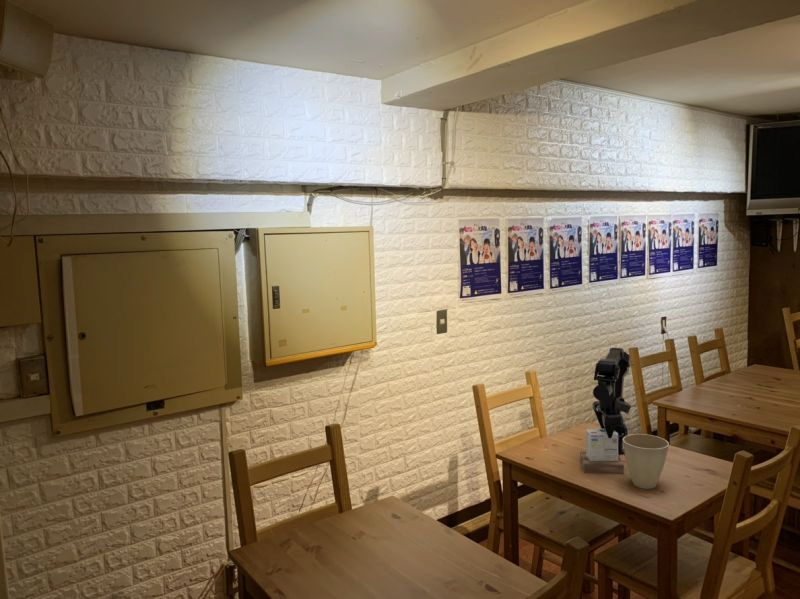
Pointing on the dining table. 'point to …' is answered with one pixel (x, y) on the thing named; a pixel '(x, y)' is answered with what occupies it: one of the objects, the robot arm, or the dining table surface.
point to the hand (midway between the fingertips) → (606, 433)
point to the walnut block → (601, 465)
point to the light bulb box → (601, 445)
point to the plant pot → (645, 458)
